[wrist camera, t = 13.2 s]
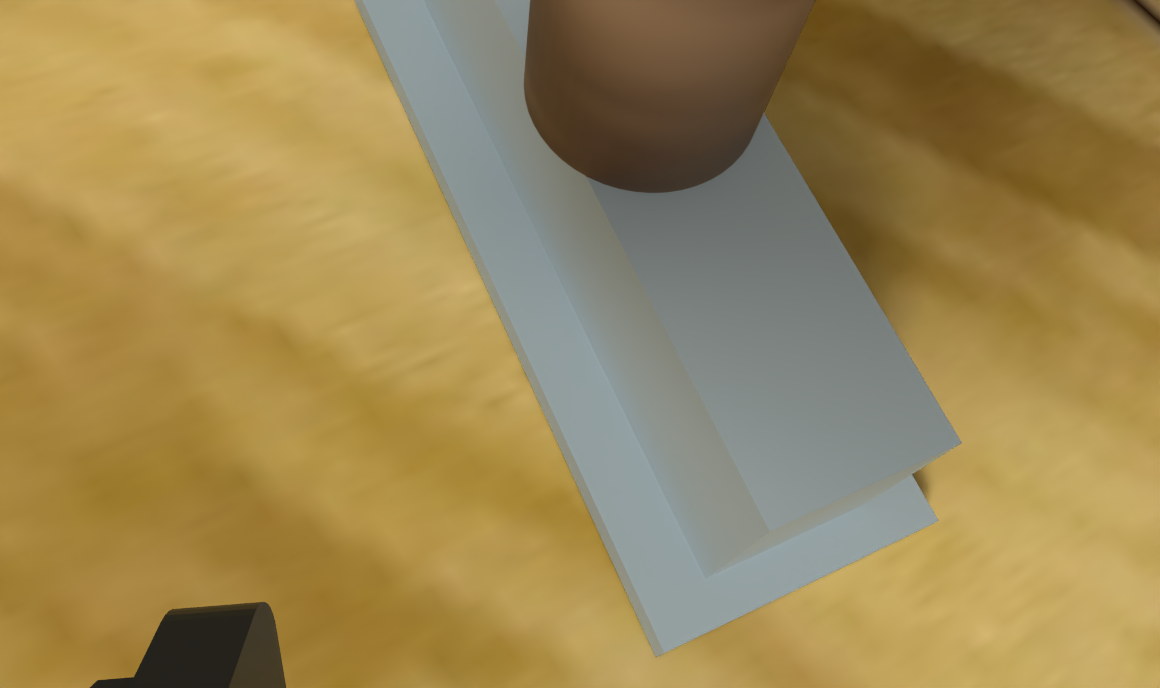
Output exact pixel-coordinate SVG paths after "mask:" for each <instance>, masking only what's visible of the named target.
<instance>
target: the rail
mask: <svg viewBox="0 0 1160 688" xmlns="http://www.w3.org/2000/svg"><path fill="white" fill-rule="evenodd" d="M355 3H356V5H357V7H358V9H359V11H360V14H361V16H362V18H363V20H364V22H365V24H366V27H367V29H368V31H369V33H370V35H371V37H372V40H373V42H374V44H375V46H376V48H377V51H378V53H379V55H380V57H381V59H382V61H383V64H384V66H385V68H386V70H387V72H388V75H389V77H390V79H391V81H392V83H393V85H394V88H395V90H396V92H397V94H398V96H399V98H400V101H401V103H402V105H403V107H404V109H405V112H406V114H407V116H408V118H409V120H410V122H411V125H412V127H413V129H414V131H415V133H416V136H417V138H418V140H419V142H420V144H421V146H422V149H423V151H424V153H425V155H426V157H427V159H428V162H429V164H430V166H431V168H432V170H433V173H434V175H435V177H436V179H437V181H438V183H439V186H440V188H441V190H442V192H443V194H444V197H445V199H446V201H447V203H448V205H449V207H450V210H451V212H452V214H453V216H454V218H455V220H456V223H457V225H458V227H459V229H460V231H461V234H462V236H463V238H464V240H465V242H466V244H467V247H468V249H469V251H470V253H471V255H472V258H473V260H474V262H475V264H476V266H477V268H478V271H479V273H480V275H481V277H482V279H483V281H484V284H485V286H486V288H487V290H488V292H489V295H490V297H491V299H492V301H493V303H494V305H495V308H496V310H497V312H498V314H499V316H500V319H501V321H502V323H503V325H504V327H505V329H506V332H507V334H508V336H509V338H510V340H511V342H512V345H513V347H514V349H515V351H516V353H517V356H518V358H519V360H520V362H521V364H522V366H523V369H524V371H525V373H526V375H527V377H528V380H529V382H530V384H531V386H532V388H533V390H534V393H535V395H536V397H537V399H538V401H539V403H540V406H541V408H542V410H543V412H544V414H545V417H546V419H547V421H548V423H549V425H550V427H551V430H552V432H553V434H554V436H555V438H556V441H557V443H558V445H559V447H560V449H561V451H562V454H563V456H564V458H565V460H566V462H567V464H568V467H569V469H570V471H571V473H572V475H573V478H574V480H575V482H576V484H577V486H578V488H579V491H580V493H581V495H582V497H583V499H584V502H585V504H586V506H587V508H588V510H589V512H590V515H591V517H592V519H593V521H594V523H595V525H596V528H597V530H598V532H599V534H600V536H601V539H602V541H603V543H604V545H605V547H606V549H607V552H608V554H609V556H610V558H611V560H612V563H613V565H614V567H615V569H616V571H617V573H618V576H619V578H620V580H621V582H622V584H623V586H624V589H625V591H626V593H627V595H628V597H629V600H630V602H631V604H632V606H633V608H634V610H635V613H636V615H637V617H638V619H639V621H640V624H641V626H642V628H643V630H644V632H645V634H646V637H647V639H648V641H649V643H650V645H651V647H652V650H653V652H654V654H655V656H656V657H658V656H660V655H662V654H664V653H666V652H668V651H670V650H672V649H674V648H676V647H678V646H680V645H682V644H685V643H687V642H689V641H691V640H693V639H695V638H697V637H699V636H701V635H703V634H705V633H707V632H709V631H712V630H714V629H716V628H718V627H720V626H722V625H724V624H726V623H728V622H730V621H732V620H734V619H736V618H739V617H741V616H743V615H745V614H747V613H749V612H751V611H753V610H755V609H757V608H759V607H761V606H763V605H765V604H768V603H770V602H772V601H774V600H776V599H778V598H780V597H782V596H784V595H786V594H788V593H790V592H792V591H795V590H797V589H799V588H801V587H803V586H805V585H807V584H809V583H811V582H813V581H815V580H817V579H819V578H822V577H824V576H826V575H828V574H830V573H832V572H834V571H836V570H838V569H840V568H842V567H844V566H846V565H848V564H851V563H853V562H855V561H857V560H859V559H861V558H863V557H865V556H867V555H869V554H871V553H873V552H875V551H878V550H880V549H882V548H884V547H886V546H888V545H890V544H892V543H894V542H896V541H898V540H900V539H902V538H905V537H907V536H909V535H911V534H913V533H915V532H917V531H919V530H921V529H923V528H925V527H927V526H929V525H931V524H933V523H935V522H937V521H938V519H937V517H936V515H935V514H934V512H933V510H932V508H931V507H930V505H929V503H928V501H927V500H926V498H925V496H924V494H923V493H922V491H921V489H920V488H919V486H918V484H917V482H916V481H915V479H914V477H913V475H912V474H913V473H915V472H916V471H918V470H920V469H921V468H923V467H924V466H926V465H928V464H929V463H931V462H932V461H934V460H935V459H937V458H939V457H940V456H942V455H943V454H945V453H947V452H948V451H950V450H951V449H953V448H954V447H956V446H958V445H959V444H961V443H962V442H961V441H960V439H959V437H958V436H957V434H956V432H955V431H954V429H953V427H952V426H951V424H950V422H949V421H948V419H947V417H946V416H945V414H944V412H943V411H942V409H941V407H940V406H939V404H938V402H937V401H936V399H935V397H934V396H933V394H932V392H931V391H930V389H929V387H928V386H927V384H926V382H925V381H924V379H923V377H922V376H921V374H920V372H919V371H918V369H917V367H916V366H915V364H914V362H913V361H912V359H911V357H910V356H909V354H908V352H907V351H906V349H905V347H904V346H903V344H902V342H901V341H900V339H899V337H898V336H897V334H896V332H895V331H894V329H893V327H892V326H891V324H890V322H889V321H888V319H887V317H886V316H885V314H884V312H883V311H882V309H881V307H880V306H879V304H878V302H877V301H876V299H875V297H874V296H873V294H872V292H871V291H870V289H869V287H868V286H867V284H866V282H865V281H864V279H863V277H862V276H861V274H860V272H859V271H858V269H857V267H856V265H855V264H854V262H853V260H852V259H851V257H850V255H849V254H848V252H847V250H846V249H845V247H844V245H843V244H842V242H841V240H840V239H839V237H838V235H837V234H836V232H835V230H834V229H833V227H832V225H831V224H830V222H829V220H828V219H827V217H826V215H825V214H824V212H823V210H822V209H821V207H820V205H819V204H818V202H817V200H816V199H815V197H814V195H813V194H812V192H811V190H810V189H809V187H808V185H807V184H806V182H805V180H804V179H803V177H802V175H801V174H800V172H799V170H798V169H797V167H796V165H795V164H794V162H793V160H792V159H791V157H790V155H789V154H788V152H787V150H786V149H785V147H784V145H783V144H782V142H781V140H780V139H779V137H778V135H777V134H776V132H775V130H774V129H773V127H772V125H771V124H770V122H769V120H768V119H767V117H766V115H765V114H764V113H763V116H762V118H761V120H760V122H759V124H758V126H757V129H756V131H755V133H754V135H753V137H752V140H751V142H750V144H749V145H748V147H747V148H746V150H745V151H744V153H743V154H742V155H741V156H740V157H739V158H738V160H737V161H736V162H735V163H734V164H733V165H731V166H730V167H729V168H728V169H727V170H725V171H724V172H723V173H721V174H720V175H718V176H716V177H715V178H713V179H711V180H709V181H707V182H705V183H702V184H700V185H698V186H695V187H691V188H688V189H684V190H679V191H673V192H666V193H644V192H633V191H628V190H623V189H618V188H615V187H611V186H608V185H605V184H602V183H600V182H598V181H595V180H593V179H591V178H589V177H587V176H585V175H583V174H582V173H580V172H578V171H576V170H575V169H573V168H572V167H571V166H569V165H568V164H567V163H565V162H564V161H563V160H561V159H560V158H559V157H558V156H557V155H556V154H555V153H554V152H553V151H552V150H551V149H550V148H549V146H548V145H547V144H546V143H545V141H544V140H543V139H542V138H541V136H540V134H539V133H538V131H537V129H536V128H535V126H534V124H533V122H532V120H531V117H530V115H529V112H528V109H527V105H526V101H525V95H524V71H525V58H526V45H527V33H528V20H529V7H530V0H355Z"/></svg>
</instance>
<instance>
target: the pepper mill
mask: <svg viewBox="0 0 1160 688" xmlns="http://www.w3.org/2000/svg"><path fill="white" fill-rule="evenodd" d="M814 2H815V0H530V7H529V20H528V33H527V45H526V58H525V71H524V95H525V101H526V105H527V109H528V112H529V115H530V117H531V120H532V122H533V124H534V126H535V128H536V129H537V131H538V133H539V134H540V136H541V138H542V139H543V140H544V141H545V143H546V144H547V145H548V146H549V148H550V149H551V150H552V151H553V152H554V153H555V154H556V155H557V156H558V157H559V158H560V159H561V160H563V161H564V162H565V163H567V164H568V165H569V166H571V167H572V168H573V169H575V170H576V171H578V172H580V173H582V174H583V175H585V176H587V177H589V178H591V179H593V180H595V181H598V182H600V183H602V184H605V185H608V186H611V187H615V188H618V189H623V190H628V191H633V192H644V193H666V192H673V191H679V190H684V189H688V188H691V187H695V186H698V185H700V184H702V183H705V182H707V181H709V180H711V179H713V178H715V177H716V176H718V175H720V174H721V173H723V172H724V171H725V170H727V169H728V168H729V167H730V166H731V165H733V164H734V163H735V162H736V161H737V160H738V158H739V157H740V156H741V155H742V154H743V153H744V151H745V150H746V148H747V147H748V145H749V144H750V142H751V140H752V137H753V135H754V133H755V131H756V129H757V126H758V124H759V122H760V120H761V118H762V116H763V113H764V111H765V109H766V107H767V105H768V102H769V100H770V98H771V96H772V94H773V92H774V89H775V87H776V85H777V83H778V81H779V78H780V76H781V74H782V72H783V70H784V68H785V65H786V63H787V61H788V59H789V57H790V54H791V52H792V50H793V48H794V46H795V44H796V41H797V39H798V37H799V35H800V33H801V30H802V28H803V26H804V24H805V22H806V20H807V17H808V15H809V13H810V11H811V9H812V6H813V4H814Z"/></svg>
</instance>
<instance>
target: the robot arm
mask: <svg viewBox="0 0 1160 688" xmlns="http://www.w3.org/2000/svg"><path fill="white" fill-rule="evenodd" d="M90 688H286V684H285V678H284V672H283V666H282V660H281V654H280V648H279V642H278V636H277V629H276V624H275V620H274V616H273V613H272V610H271V608H270V606H269V605H268V604H267V603H266V602H258V603H245V604H233V605H220V606H207V607H195V608H182V609H172V610H170V611H169V612H168V613H167V614H166V615H165V616H164V618H163V620H162V621H161V623H160V625H159V627H158V629H157V631H156V633H155V635H154V637H153V640H152V642H151V644H150V646H149V648H148V650H147V652H146V654H145V656H144V658H143V660H142V662H141V664H140V666H139V668H138V670H137V672H136V674H135V676H134V677H132V678H120V679H108V680H98V681H97V682H95V683H94V684H93V685H92V686H91V687H90Z"/></svg>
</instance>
